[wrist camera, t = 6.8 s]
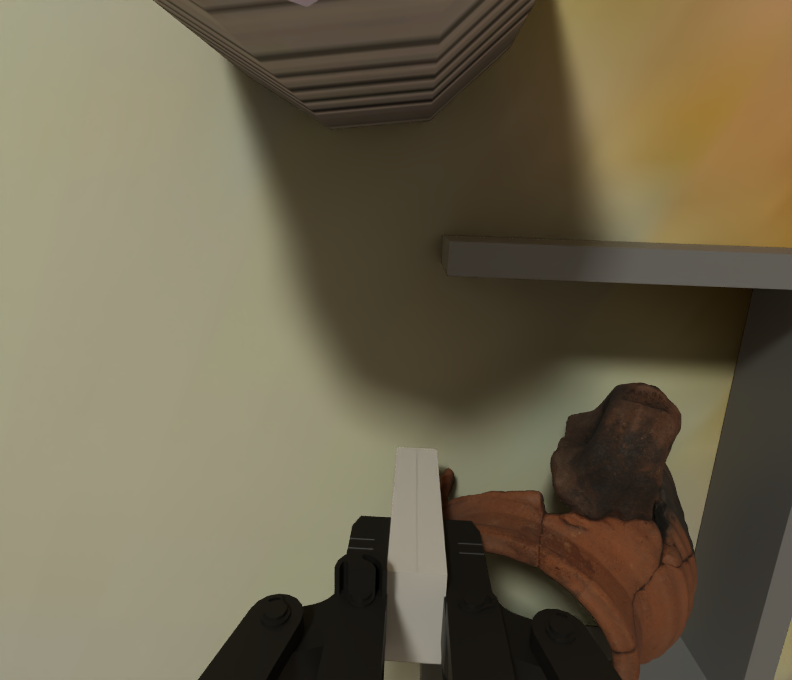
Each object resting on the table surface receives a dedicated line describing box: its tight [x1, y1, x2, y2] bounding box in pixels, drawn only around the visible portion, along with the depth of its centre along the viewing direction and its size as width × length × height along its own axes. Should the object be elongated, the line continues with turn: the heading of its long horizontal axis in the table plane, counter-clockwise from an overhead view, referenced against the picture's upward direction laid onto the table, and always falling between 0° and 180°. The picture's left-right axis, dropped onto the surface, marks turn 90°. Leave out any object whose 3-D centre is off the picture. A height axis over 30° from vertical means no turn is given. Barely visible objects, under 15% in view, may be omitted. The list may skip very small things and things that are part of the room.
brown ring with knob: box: [439, 383, 697, 680], centre depth 18 cm, size 12×10×8 cm
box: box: [420, 235, 792, 680], centre depth 18 cm, size 12×18×4 cm
